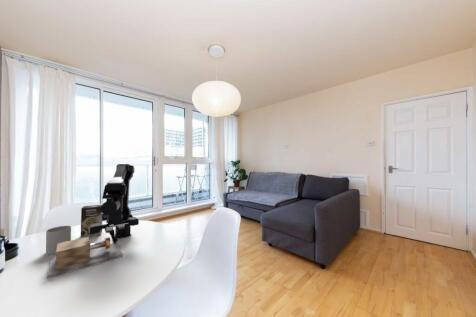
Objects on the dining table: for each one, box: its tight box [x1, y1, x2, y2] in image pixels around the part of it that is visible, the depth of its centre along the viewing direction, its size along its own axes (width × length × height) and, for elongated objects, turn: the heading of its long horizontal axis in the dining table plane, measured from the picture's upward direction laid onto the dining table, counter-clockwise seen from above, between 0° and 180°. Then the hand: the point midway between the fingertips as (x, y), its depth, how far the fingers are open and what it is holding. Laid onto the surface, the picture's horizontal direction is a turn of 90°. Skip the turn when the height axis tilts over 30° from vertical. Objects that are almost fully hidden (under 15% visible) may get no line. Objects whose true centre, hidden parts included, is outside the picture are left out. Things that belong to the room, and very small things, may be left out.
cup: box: [45, 225, 72, 256], centre depth 87 cm, size 8×8×10 cm
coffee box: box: [80, 204, 103, 239], centre depth 106 cm, size 9×6×16 cm
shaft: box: [90, 236, 111, 250], centre depth 81 cm, size 14×5×5 cm, turn 131°
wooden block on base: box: [46, 237, 124, 279], centre depth 80 cm, size 23×16×8 cm
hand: (114, 243), depth 87 cm, fingers closed
